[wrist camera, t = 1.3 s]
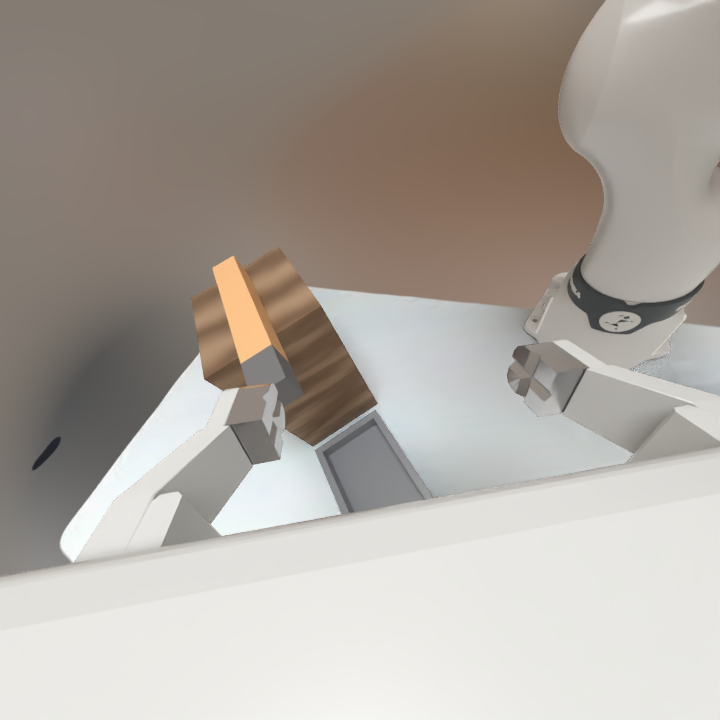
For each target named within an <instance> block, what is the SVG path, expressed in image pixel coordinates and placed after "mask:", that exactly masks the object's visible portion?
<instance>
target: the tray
mask: <svg viewBox="0 0 720 720" xmlns="http://www.w3.org/2000/svg"><path fill="white" fill-rule="evenodd" d="M315 452H316V454H317V456H318V459H319V461H320V463H321V466H322V468H323V471H324V473H325V475H326V478H327V480H328V482H329V485H330V487H331V489H332V492H333V494H334V496H335V499H336V501H337V504H338V506H339V508H340V511H341V513H342V514H348V513H353V512H359V511H364V510H370V509H375V508H381V507H387V506H392V505H398V504H403V503H409V502H414V501H420V500H425V499H431V498H433V497H432V495H431V494H430V492H429V491H428V489H427V488H426V486H425V485H424V483H423V482H422V480H421V479H420V477H419V476H418V474H417V473H416V471H415V470H414V468H413V466H412V465H411V463H410V462H409V460H408V459H407V457H406V456H405V454H404V453H403V451H402V450H401V448H400V447H399V445H398V444H397V442H396V441H395V439H394V438H393V436H392V434H391V433H390V431H389V430H388V428H387V427H386V425H385V424H384V422H383V421H382V419H381V418H380V416H379V415H378V413H377V412H376V410H375V411H373V412H372V413H370V414H369V415H367V416H366V417H364V418H363V419H361V420H360V421H358V422H357V423H355V424H354V425H352V426H351V427H349V428H348V429H346V430H345V431H343V432H342V433H340V434H339V435H337V436H336V437H334V438H333V439H331V440H330V441H328V442H327V443H325V444H324V445H322V446H321V447H319V448H318V449H316V450H315Z"/></svg>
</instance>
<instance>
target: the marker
mask: <svg viewBox="0 0 720 720" xmlns="http://www.w3.org/2000/svg"><path fill="white" fill-rule="evenodd" d="M213 272H214V275H215V278H216V282H217V285H218V289H219V292H220V296H221V299H222V302H223V306H224V309H225V313H226V316H227V319H228V323H229V326H230V330H231V333H232V336H233V340H234V343H235V347H236V350H237V353H238V357H239V360H240V364H241V367H242V370H243V374H244V377H245V381H246V384H247V386H254V385H261V384H269V383H273V384H274V385H275V387H276V389H277V391H278V395H277V400H279V401H280V402H282V405H283V408H284V407H285V406H287V405H288V404H290V403H291V402H293V401H294V400H296V399H298V398H299V397H301V396H302V395H304V393H303V391H302V389H301V387H300V385H299V382H298V380H297V378H296V376H295V374H294V372H293V370H292V367H291V365H290V363H289V361H288V359H287V357H286V355H285V352H284V350H283V348H282V346H281V344H280V342H279V339H278V337H277V335H276V333H275V331H274V329H273V327H272V324H271V322H270V320H269V318H268V316H267V314H266V311H265V309H264V307H263V305H262V303H261V301H260V299H259V296H258V294H257V292H256V290H255V288H254V286H253V283H252V281H251V279H250V277H249V275H248V274H247V272H246V271H245V270H244V268H243V267H242V266H241V265H240V263H239V262H238V261H237V260H236V258H235V257H234V256H232V257H230V258H229V259H227V260H225V261H224V262H222V263H220V264H218V265H217V266H215V267H214V268H213Z"/></svg>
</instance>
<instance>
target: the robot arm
mask: <svg viewBox="0 0 720 720" xmlns="http://www.w3.org/2000/svg"><path fill="white" fill-rule="evenodd" d="M559 122H560V126H561V130H562V133H563V135H564V137H565V139H566V141H567V142H568V144H569V145H570V146H571V147H572V149H573V150H575V151H576V152H578V153H579V154H581V155H582V156H583V157H585V158H586V159H587V160H588V161H589V162H590V163H591V164H592V165H593V167H594V168H595V169H596V171H597V173H598V174H599V176H600V178H601V181H602V184H603V189H604V208H603V213H602V216H601V219H600V222H599V225H598V228H597V230H596V233H595V235H594V238H593V240H592V242H591V244H590V247H589V249H588V251H587V253H586V254H585V255H584V256H583V257H582V258H581V259H580V260H579V261H577V262H575V263H574V264H573V266H572V267H571V269H570V271H569V272H564V273H560V274H557V275H556V276H553V278H552V280H551V282H550V285H549V286H548V288H547V290H546V291H545V293H544V294H543V296H542V298H541V299H540V301H539V302H538V304H537V305H536V307H535V308H534V310H533V312H532V313H531V315H530V316H529V318H528V319H527V321H526V323H525V325H524V330H525V331H526V332H527V333H528V334H530V335H531V336H533V337H534V338H535V339H536V340H537V341H538V342H539V343H536V344H530V345H524V346H518V347H517V348H516V349H515V350H514V353H513V356H512V357H513V359H514V360H515V362H514V363H513V364H512V365H511V366H510V367H509V369H508V373H507V378H508V383H509V385H510V387H511V388H512V390H513V391H514V392H515V393H517V394H519V395H521V396H523V397H524V403H525V404H526V405H527V406H528V407H529V408H530V409H531V410H532V411H533V413H534V414H535V415H536V416H537V417H539V416H546V415H553V414H561V413H563V415H565V416H566V417H568V418H570V419H572V420H574V421H575V422H577V423H579V424H581V425H583V426H584V427H586V428H588V429H590V430H592V431H594V432H595V433H597V434H599V435H601V436H603V437H604V438H606V439H608V440H610V441H612V442H613V443H615V444H617V445H619V446H621V447H623V448H624V449H626V450H628V451H630V452H632V453H633V455H632V457H631V458H630V459H629V460H628V461H627V462H626V463H625V464H620V465H614V466H609V467H603V468H597V469H592V470H586V471H581V472H575V473H570V474H564V475H558V476H553V477H547V478H542V479H536V480H531V481H525V482H519V483H514V484H508V485H503V486H497V487H492V488H486V489H481V490H475V491H470V492H464V493H458V494H453V495H447V496H442V497H436V498H431V499H425V500H420V501H414V502H409V503H403V504H398V505H392V506H387V507H381V508H375V509H370V510H364V511H359V512H353V513H348V514H342V515H337V516H331V517H325V518H320V519H314V520H309V521H303V522H298V523H292V524H286V525H281V526H275V527H270V528H264V529H259V530H253V531H248V532H242V533H236V534H231V535H225V536H221V535H220V534H219V533H218V532H217V530H216V529H215V528H214V527H213V526H212V525H211V523H212V522H213V520H214V519H215V517H216V516H217V515H218V513H219V512H220V511H221V509H222V508H223V506H224V505H225V504H226V502H227V501H228V500H229V498H230V497H231V496H232V494H233V493H234V491H235V490H236V489H237V487H238V486H239V485H240V483H241V482H242V480H243V479H244V478H245V476H246V475H247V474H248V472H249V471H250V470H251V468H252V467H253V466H252V465H254V464H259V463H264V462H270V461H275V460H280V458H281V451H282V444H283V440H282V438H281V433H282V432H283V431H284V430H285V412H284V408H283V405H282V402H280V401H279V400H277V395H278V391H277V389H276V387H275V385H274V384H273V383H269V384H261V385H254V386H246V387H241V388H232V389H225V390H224V391H222V393H221V395H220V397H219V399H218V401H217V404H216V406H215V408H214V410H213V412H212V414H211V417H210V419H209V421H208V423H207V425H206V427H205V429H203V430H199V431H198V432H196V433H195V434H194V435H193V436H192V437H190V438H189V439H188V440H187V441H186V442H184V443H183V444H182V445H181V446H179V447H178V448H177V449H176V450H175V451H173V452H172V453H171V454H170V455H168V456H167V457H166V458H165V459H164V460H162V461H161V462H160V463H159V464H158V465H156V466H155V467H154V468H153V469H151V470H150V471H149V472H148V473H147V474H145V475H144V476H143V477H142V478H140V479H139V480H138V481H137V482H136V483H134V484H133V485H132V486H131V487H130V488H128V489H127V490H126V491H125V492H123V493H122V494H121V495H120V496H119V497H117V498H116V499H115V500H114V501H113V502H112V504H111V505H110V507H109V508H108V510H107V512H106V513H105V515H104V516H103V518H102V519H101V521H100V523H99V524H98V526H97V527H96V529H95V530H94V532H93V533H92V535H91V537H90V538H89V540H88V541H87V543H86V544H85V546H84V548H83V549H82V551H81V552H80V554H79V555H78V557H77V558H76V560H75V562H74V563H69V564H63V565H58V566H52V567H47V568H41V569H36V570H30V571H25V572H19V573H13V574H8V575H2V576H0V720H720V396H718V395H715V394H711V393H708V392H704V391H701V390H697V389H694V388H690V387H687V386H683V385H680V384H676V383H673V382H670V381H666V380H663V379H659V378H656V377H652V376H649V375H645V374H642V373H638V372H635V371H631V370H630V369H632V368H634V367H635V366H637V365H638V364H640V363H642V362H643V361H646V360H651V359H656V358H660V357H663V356H665V355H667V353H668V352H669V351H670V349H671V348H670V344H669V341H668V338H669V337H670V336H671V335H672V334H673V333H674V332H675V331H676V330H677V329H678V327H679V326H680V325H681V324H682V323H683V322H684V321H685V319H686V317H687V315H686V314H685V311H684V308H683V307H684V306H686V305H687V304H688V303H689V302H690V301H691V300H692V299H693V298H694V297H695V295H696V294H697V292H698V291H699V290H700V289H701V288H702V286H703V284H704V280H705V278H706V277H707V276H708V275H709V274H710V273H711V272H712V271H713V270H714V269H715V268H716V267H717V266H718V265H719V264H720V168H718V167H716V166H717V164H718V162H719V161H720V0H606V1H605V2H604V4H603V5H602V6H601V8H600V9H599V10H598V12H597V13H596V15H595V16H594V18H593V19H592V20H591V22H590V23H589V25H588V26H587V28H586V30H585V31H584V33H583V35H582V36H581V38H580V40H579V42H578V44H577V46H576V48H575V50H574V52H573V54H572V56H571V59H570V61H569V63H568V66H567V69H566V72H565V75H564V78H563V81H562V85H561V90H560V96H559ZM533 321H535V322H533Z"/></svg>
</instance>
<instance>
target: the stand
mask: <svg viewBox="0 0 720 720" xmlns="http://www.w3.org/2000/svg"><path fill="white" fill-rule="evenodd" d="M243 268H244V270H245V271H246V272H247V274H248V275H249V277H250V279H251V281H252V283H253V286H254V288H255V290H256V292H257V294H258V296H259V299H260V301H261V303H262V305H263V307H264V309H265V311H266V314H267V316H268V318H269V320H270V322H271V324H272V327H273V329H274V331H275V333H276V335H277V337H278V339H279V342H280V344H281V346H282V348H283V350H284V352H285V355H286V357H287V359H288V361H289V363H290V365H291V367H292V370H293V372H294V374H295V376H296V378H297V380H298V382H299V385H300V387H301V389H302V391H303V393H304V395H302V396H301V397H299V398H298V399H296V400H294V401H293V402H291V403H290V404H288V405H287V406H285V407H284V412H285V429H286V430H288V431H289V432H291V433H292V434H294V435H296V436H297V437H299V438H301V439H302V440H304V441H305V442H307V443H309V444H310V445H312V446H315V445H316V444H318V443H319V442H321V441H322V440H324V439H325V438H327V437H328V436H330V435H331V434H333V433H334V432H336V431H337V430H339V429H340V428H342V427H343V426H345V425H346V424H348V423H349V422H351V421H352V420H354V419H355V418H357V417H358V416H360V415H361V414H363V413H364V412H366V411H367V410H369V409H370V408H372V407H373V406H375V405H376V404H377V402H376V400H375V398H374V397H373V395H372V393H371V391H370V390H369V388H368V386H367V385H366V383H365V381H364V379H363V378H362V376H361V374H360V372H359V371H358V369H357V367H356V365H355V364H354V362H353V360H352V359H351V357H350V355H349V353H348V352H347V350H346V348H345V346H344V345H343V343H342V341H341V340H340V338H339V336H338V334H337V333H336V331H335V329H334V327H333V326H332V324H331V322H330V320H329V319H328V317H327V315H326V314H325V312H324V310H323V308H322V307H321V305H320V304H319V302H318V301H317V300H316V298H315V297H314V295H313V294H312V293H311V291H310V290H309V288H308V287H307V286H306V284H305V283H304V281H303V280H302V279H301V277H300V276H299V274H298V273H297V272H296V270H295V269H294V267H293V266H292V265H291V263H290V262H289V260H288V259H287V258H286V256H285V255H284V254H283V252H282V251H281V249H280V248H279V247H276V248H275V249H273V250H271V251H270V252H268V253H266V254H265V255H263V256H261V257H260V258H258V259H256V260H255V261H253V262H252V263H250V264H248V265H246V266H245V267H243ZM192 306H193V312H194V318H195V324H196V330H197V337H198V343H199V349H200V356H201V362H202V369H203V375H204V379H205V380H206V381H208V382H210V383H211V384H213V385H214V386H216V387H218V388H219V389H221V390H223V391H224V390H225V389H232V388H241V387H246V386H247V384H246V381H245V377H244V374H243V370H242V367H241V364H240V360H239V357H238V353H237V350H236V347H235V343H234V340H233V336H232V333H231V330H230V326H229V323H228V319H227V316H226V313H225V309H224V306H223V302H222V299H221V296H220V292H219V289H218V285H217V283H216V284H215V285H213V286H211V287H210V288H208V289H206V290H205V291H203V292H201V293H200V294H198V295H196V296H195V297H193V298H192Z"/></svg>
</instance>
